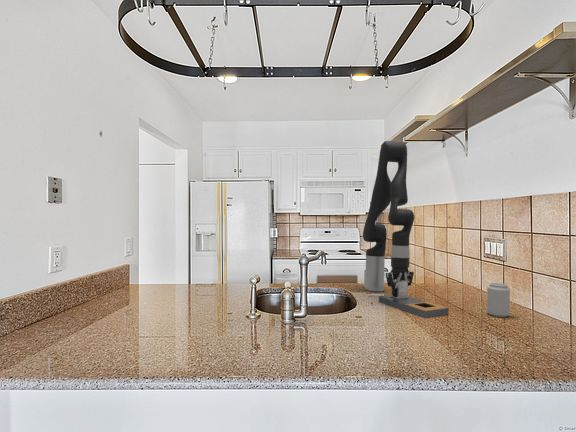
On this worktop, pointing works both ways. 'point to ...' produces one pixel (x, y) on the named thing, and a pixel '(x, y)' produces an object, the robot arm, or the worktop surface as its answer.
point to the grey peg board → (415, 306)
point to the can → (498, 299)
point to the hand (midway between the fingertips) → (399, 296)
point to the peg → (401, 290)
